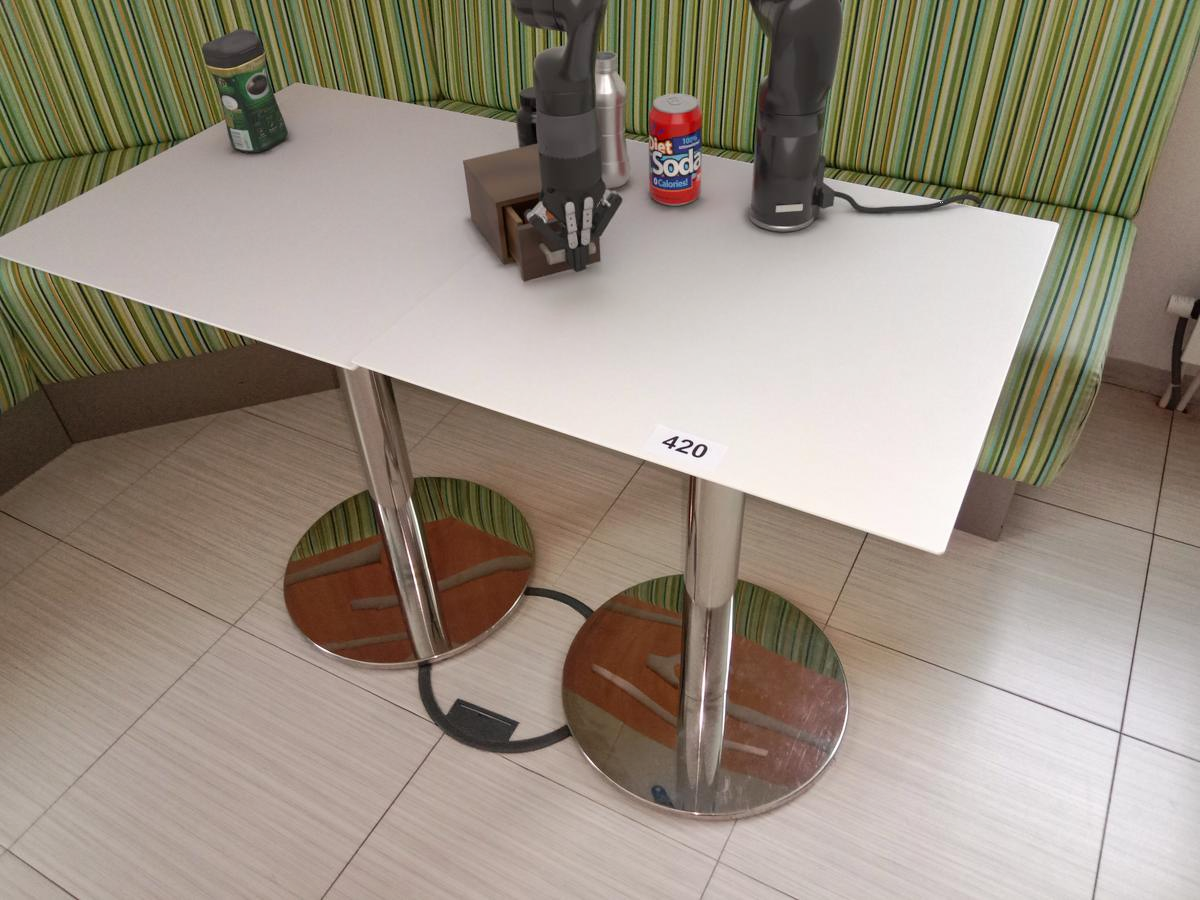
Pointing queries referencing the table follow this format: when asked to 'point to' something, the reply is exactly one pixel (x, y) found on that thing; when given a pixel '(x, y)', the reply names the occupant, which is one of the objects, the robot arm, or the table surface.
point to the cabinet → (501, 190)
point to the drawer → (537, 244)
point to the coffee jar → (245, 91)
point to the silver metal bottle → (612, 120)
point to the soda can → (675, 149)
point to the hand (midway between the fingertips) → (577, 268)
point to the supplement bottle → (527, 118)
